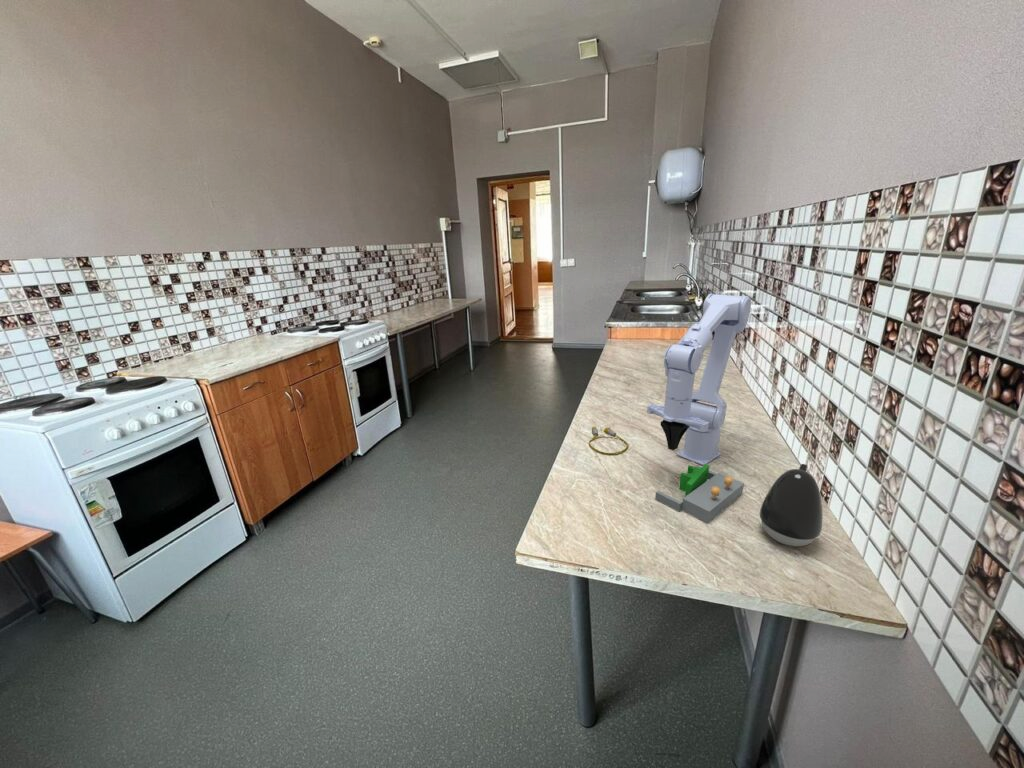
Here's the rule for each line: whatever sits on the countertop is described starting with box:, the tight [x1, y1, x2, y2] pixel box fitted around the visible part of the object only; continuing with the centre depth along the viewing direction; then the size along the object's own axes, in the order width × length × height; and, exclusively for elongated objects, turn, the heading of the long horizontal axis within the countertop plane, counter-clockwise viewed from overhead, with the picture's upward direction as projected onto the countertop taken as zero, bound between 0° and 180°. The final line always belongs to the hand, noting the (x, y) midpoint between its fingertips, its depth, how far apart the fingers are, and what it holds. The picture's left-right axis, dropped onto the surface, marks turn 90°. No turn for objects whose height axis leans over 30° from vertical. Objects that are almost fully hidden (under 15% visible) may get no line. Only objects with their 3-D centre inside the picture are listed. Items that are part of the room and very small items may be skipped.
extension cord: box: [588, 426, 630, 456], centre depth 122 cm, size 12×16×2 cm
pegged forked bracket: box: [654, 464, 745, 524], centre depth 94 cm, size 18×12×6 cm, turn 128°
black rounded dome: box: [759, 463, 824, 547], centre depth 79 cm, size 10×10×15 cm
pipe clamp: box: [678, 463, 710, 497], centre depth 98 cm, size 11×4×5 cm, turn 136°
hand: (672, 448), depth 98 cm, fingers closed
